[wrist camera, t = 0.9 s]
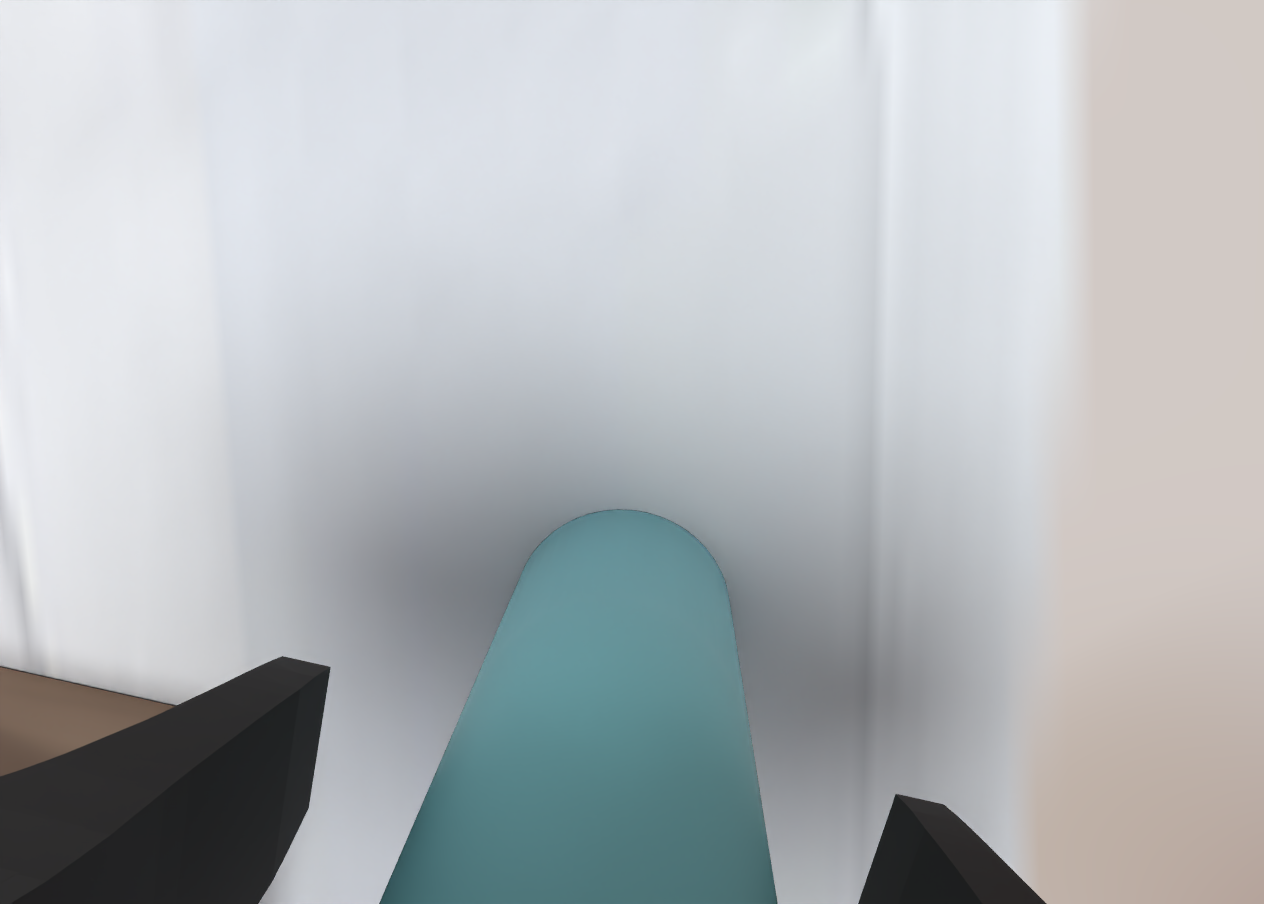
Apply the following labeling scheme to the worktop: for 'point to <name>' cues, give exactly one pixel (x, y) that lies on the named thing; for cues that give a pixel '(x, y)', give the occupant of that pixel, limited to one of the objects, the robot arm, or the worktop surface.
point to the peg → (600, 738)
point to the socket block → (59, 717)
